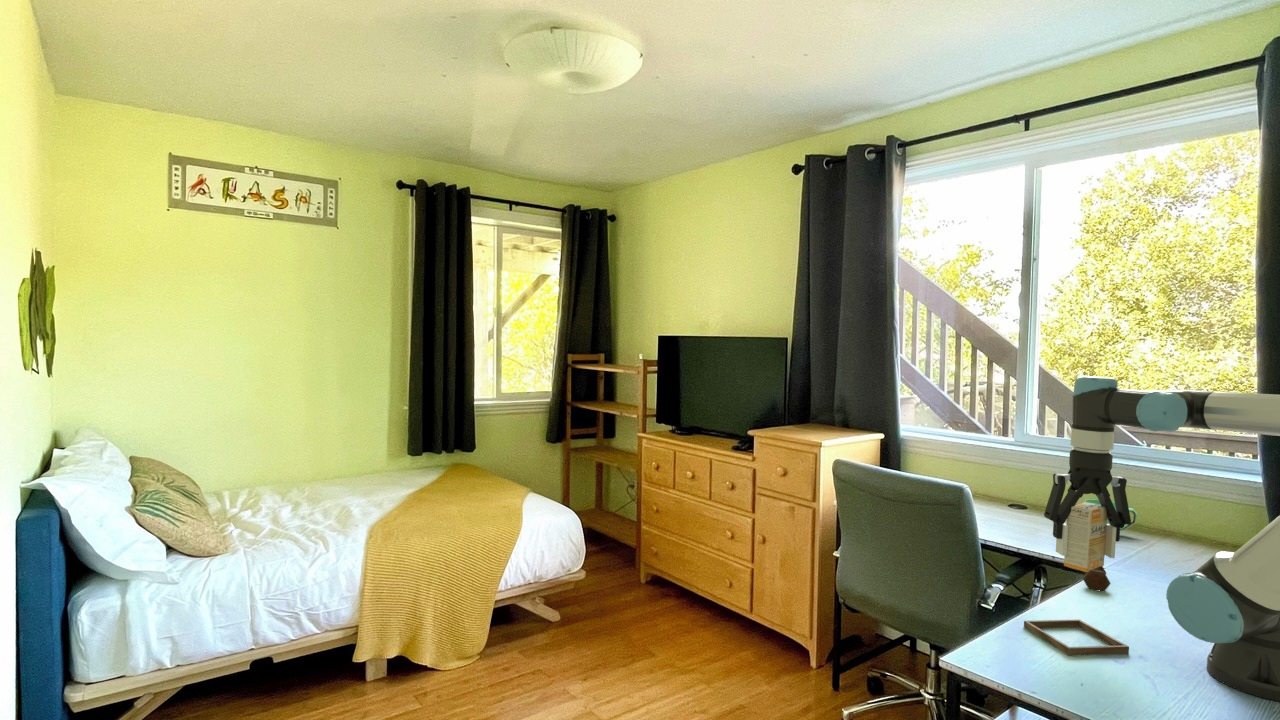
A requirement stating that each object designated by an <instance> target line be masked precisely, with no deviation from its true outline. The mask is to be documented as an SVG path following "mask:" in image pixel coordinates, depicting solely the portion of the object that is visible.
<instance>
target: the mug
mask: <svg viewBox="0 0 1280 720" xmlns="http://www.w3.org/2000/svg"><path fill="white" fill-rule="evenodd" d="M1084 502H1088V503H1094V504H1099V505H1101V504H1100V502H1099V499H1092V498H1091V499H1090V498H1089V499H1085V500H1084ZM1112 503H1113V505H1114V508H1115V510H1116V507H1115V501H1112ZM1129 513H1130V514H1131V513H1132V520H1131V523H1130V524H1129V525H1127V524H1125V525H1124V527H1123V528H1120V532H1121V531H1125V530H1127V529H1128V528H1130V527H1132V526H1133V525H1135V524H1136V522H1137V518H1138V514H1139V513H1138V512H1137V511H1136V510H1135V509H1134V508H1131V507H1129ZM1107 524H1110V523H1109V521H1108V519H1107Z"/></svg>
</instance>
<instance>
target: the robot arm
mask: <svg viewBox="0 0 1280 720" xmlns="http://www.w3.org/2000/svg"><path fill="white" fill-rule="evenodd" d="M1071 421H1072V422H1071V429H1070V431H1071V432H1070V443H1069V444H1070V447H1072V448H1070V450H1069V459H1068V460H1069V462H1068V463H1069V465H1068V466H1069V470H1068V472H1067V473H1063V474H1061V473H1057V472H1054V473H1053V474H1052V482H1053V484H1052V487H1051V491H1050V494H1049V497H1048V501H1047V504H1046V508H1045V509H1044V514H1043V517H1044V518H1046V519H1047V520H1050V521H1051V522H1053V524H1052V525H1053V526H1052V527H1053V528H1052V536H1053V538H1055V540H1056V542H1055V552H1056V553H1058V554H1059V555H1061V556H1066V554H1067V537H1068V525H1067V523H1065V522H1067V518H1068V516H1069V514H1070V513H1071V507H1073V506H1075V505H1076V504H1078V501H1079V500H1080V498H1082V497H1083V496H1084V495H1090V494H1093V495H1095V496H1096V497H1097V500H1099V502H1100V504H1101V506H1104V507H1105V508H1106V512H1107V519H1108V521H1109V523H1110V524H1107V526H1106V541H1105V556H1106V557H1108V558H1110V559H1115V555H1116V554H1115V553H1116V542H1119V541H1120V538H1121V535H1120V534H1121V531H1120V528H1123V527H1124V526H1125V525H1126V524H1127V525H1129V524H1130V523H1131V521H1132V520H1131V512H1129V508H1130V507H1129V502H1128V497H1127V492H1126V488H1127V481H1128V480H1127V479H1126V478H1124V477H1122V476H1120V475H1119V476H1118V475H1115V476H1113V475H1112V472H1111V470H1112V469H1113V458H1114V457H1113V453H1112V452H1111V451H1112V450H1114V444H1115V443H1114V440H1115V428H1116V426H1123V427H1131V428H1137V429H1142V430H1143V429H1144V430H1149V431H1152V432H1169V433H1172V432H1176V431H1179V429H1180V428H1188V429H1189V428H1190V429H1200V430H1201V429H1202V430H1210V431H1211V430H1214V431H1215V430H1216V431H1224V432H1236V433H1247V434H1254V435H1255V434H1256V435H1266V436H1278V437H1280V394H1273V393H1271V394H1270V393H1254V392H1253V393H1250V392H1249V393H1248V392H1229V391H1228V392H1227V391H1206V390H1201V389H1182V390H1181V389H1180V390H1171V389H1169V390H1165V389H1164V390H1160V389H1159V390H1142V389H1141V390H1140V389H1131V388H1127V389H1125V388H1121V387H1119V385H1118V380H1117V379H1116V378H1114V377H1109V376H1107V377H1106V376H1093V375H1081V376H1078V377H1077V378H1076V379H1075V380H1074V386H1073V393H1072V420H1071ZM1069 482H1070V485H1069V487H1068V488H1067V492H1066V494H1065V491H1066V485H1068V483H1069ZM1109 485H1111V489H1112V495H1113V501H1112V499H1111V495H1110V492H1109V489H1108V486H1109ZM1064 494H1065V496H1064ZM1063 496H1064V497H1063ZM1112 502H1114V503H1115V507H1116V510H1115V508H1114V505H1113V503H1112ZM1165 596H1166V600H1167V603H1168V605H1167V606H1168V609H1169V612H1170V614H1171V616H1172V617H1173V618H1174V620H1175V622H1177V623H1176V624H1178V625H1179V626H1180V627H1181V628H1182V629H1183V630H1184V631H1186V632H1187V633H1188V634H1189V635H1191V636H1193V637H1194V638H1196V639H1198V640H1201V641H1203V642H1205V643H1210V644H1213V645H1212V648H1211V651H1210V652H1209V653H1208V655H1207V659H1206V670H1207V672H1208V673H1209V674H1210V675H1211V676H1212V677H1213V678H1214V679H1216V680H1217V681H1219V682H1220V683H1222V684H1225V685H1227V686H1229V687H1231V688H1234V689H1235V690H1237V691H1241V692H1243V693H1247V694H1250V695H1252V696H1256V697H1259V698H1263V699H1268V700H1271V701H1276V702H1280V514H1279V515H1278V516H1277V517H1276V518H1275V519H1274V520H1272V521H1271V522H1270V523H1269V524H1267V525H1266V526H1265V527H1263V528H1262V529H1261V530H1260V531H1259V532H1258V533H1257V534H1255V535H1254V536H1253V537H1251V539H1249V540H1248V541H1247V542H1245V543H1244V544H1243V545H1242V546H1240V548H1238V549H1237V550H1236V551H1235V552H1234V551H1233V552H1232V551H1225V550H1223V551H1218V552H1217V553H1216V554H1214V555H1213V556H1212V557H1211V558H1209V559H1208V560H1207V561H1206V562H1204V563H1203V564H1202V565H1200V567H1198V568H1197V569H1196V570H1194V571H1193V572H1186V573H1182V574H1179V575H1178V576H1177V577H1175V578H1173V580H1171V581H1170V583H1169V584H1168V586H1167V589H1166V595H1165Z"/></svg>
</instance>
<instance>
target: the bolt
mask: <svg viewBox="0 0 1280 720" xmlns="http://www.w3.org/2000/svg"><path fill="white" fill-rule="evenodd" d="M1084 573H1085V575H1084V576H1083V577H1082V579H1083V581H1084V584H1085V585H1086V587H1087V589H1089V590H1091V589H1093V590H1092V591H1095V590H1100V591H1099V592H1102V591H1104V592H1105V591H1106V590H1107V589H1108V588H1109V586H1110V585H1111V581H1110V580H1109V578H1108V576H1107V572H1106V570H1105V568H1104V566H1101V567H1098V568H1095V569H1093V570H1090V571H1088V572H1084Z"/></svg>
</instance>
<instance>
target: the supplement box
mask: <svg viewBox="0 0 1280 720" xmlns="http://www.w3.org/2000/svg"><path fill="white" fill-rule="evenodd" d="M1066 525H1068V537H1067V554H1066V556H1064V557H1063V558H1064V559H1063V566H1064V567H1067V568H1070V569H1073V570H1078V571H1082V572H1084V573H1085V572H1088V571H1090V570H1093V569H1095V568H1098V567H1101V566H1103V567H1104V565H1105V556H1106V555H1105V541H1106V526H1107V512H1106V508H1105V507H1104V506H1101V505H1099V504H1094V503H1088V502H1085V501H1084V502H1078V503H1076V505H1075V506H1073V507H1071V513H1070V514H1069V516H1068V518H1067V519H1066Z"/></svg>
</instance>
